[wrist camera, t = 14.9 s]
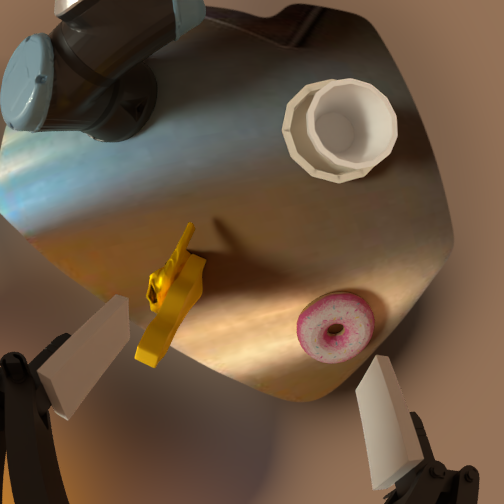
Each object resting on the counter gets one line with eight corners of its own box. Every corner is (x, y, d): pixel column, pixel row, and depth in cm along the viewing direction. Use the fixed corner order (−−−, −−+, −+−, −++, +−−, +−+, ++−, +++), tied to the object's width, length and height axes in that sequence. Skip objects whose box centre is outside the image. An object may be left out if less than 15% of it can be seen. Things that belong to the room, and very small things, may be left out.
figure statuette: (186, 212, 44) (107, 261, 23) (231, 232, 44) (183, 301, 23) (156, 299, 50) (93, 376, 29) (194, 318, 50) (146, 407, 29)
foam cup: (355, 97, 34) (383, 74, 22) (371, 157, 37) (407, 159, 24) (292, 109, 36) (295, 88, 24) (310, 170, 38) (321, 177, 26)
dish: (270, 101, 36) (269, 95, 33) (359, 79, 34) (366, 72, 30) (300, 190, 40) (302, 193, 37) (387, 166, 37) (397, 168, 34)
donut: (344, 271, 44) (350, 284, 39) (383, 322, 46) (391, 337, 41) (280, 317, 48) (279, 334, 43) (324, 361, 50) (327, 378, 45)
